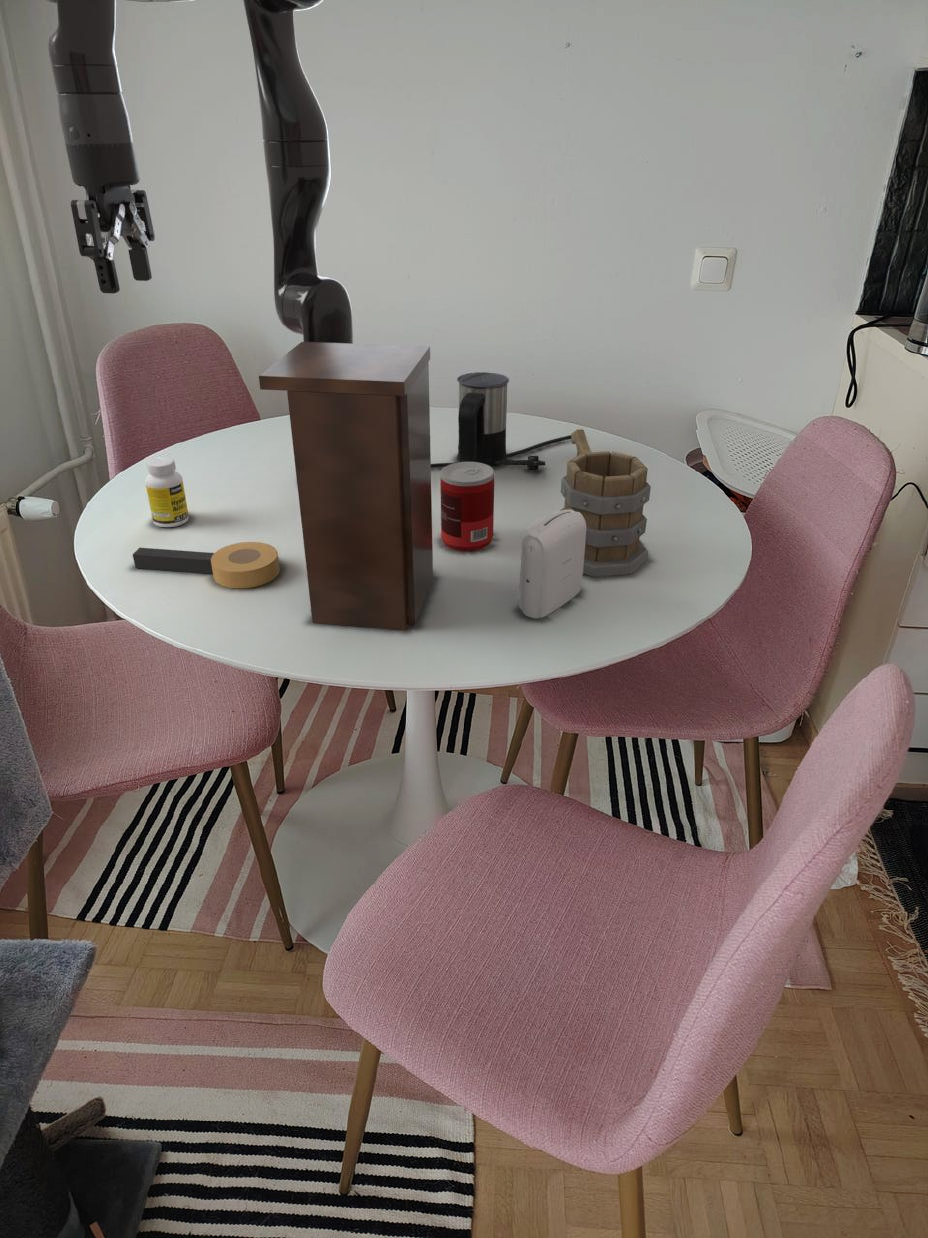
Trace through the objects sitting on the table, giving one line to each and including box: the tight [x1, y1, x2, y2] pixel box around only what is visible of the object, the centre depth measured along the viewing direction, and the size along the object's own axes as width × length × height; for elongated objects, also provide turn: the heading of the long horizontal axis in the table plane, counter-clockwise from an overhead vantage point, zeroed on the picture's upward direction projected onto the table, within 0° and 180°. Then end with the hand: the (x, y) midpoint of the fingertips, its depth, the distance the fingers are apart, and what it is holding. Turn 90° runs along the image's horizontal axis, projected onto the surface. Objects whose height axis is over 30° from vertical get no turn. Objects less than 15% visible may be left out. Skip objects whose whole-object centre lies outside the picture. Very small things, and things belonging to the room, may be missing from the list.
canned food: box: [439, 461, 496, 553], centre depth 124 cm, size 8×8×11 cm
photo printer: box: [518, 510, 586, 620], centre depth 109 cm, size 10×4×12 cm, turn 140°
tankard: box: [559, 428, 652, 578], centre depth 122 cm, size 20×13×15 cm, turn 9°
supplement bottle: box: [144, 456, 190, 528], centre depth 131 cm, size 5×5×10 cm
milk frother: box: [456, 371, 547, 471], centre depth 149 cm, size 14×16×15 cm
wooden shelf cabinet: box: [258, 341, 434, 631], centre depth 105 cm, size 16×15×31 cm
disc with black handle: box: [132, 541, 281, 589], centre depth 119 cm, size 20×9×3 cm, turn 81°
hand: (127, 286), depth 108 cm, fingers open, 8 cm apart
